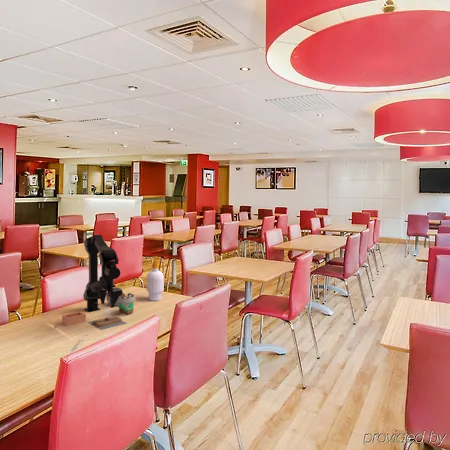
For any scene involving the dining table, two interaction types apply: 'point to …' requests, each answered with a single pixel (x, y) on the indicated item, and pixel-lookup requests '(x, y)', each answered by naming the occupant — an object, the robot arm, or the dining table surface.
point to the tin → (117, 300)
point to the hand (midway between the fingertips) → (107, 305)
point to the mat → (108, 325)
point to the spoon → (77, 344)
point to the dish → (73, 318)
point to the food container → (126, 304)
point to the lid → (107, 321)
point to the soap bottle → (155, 282)
